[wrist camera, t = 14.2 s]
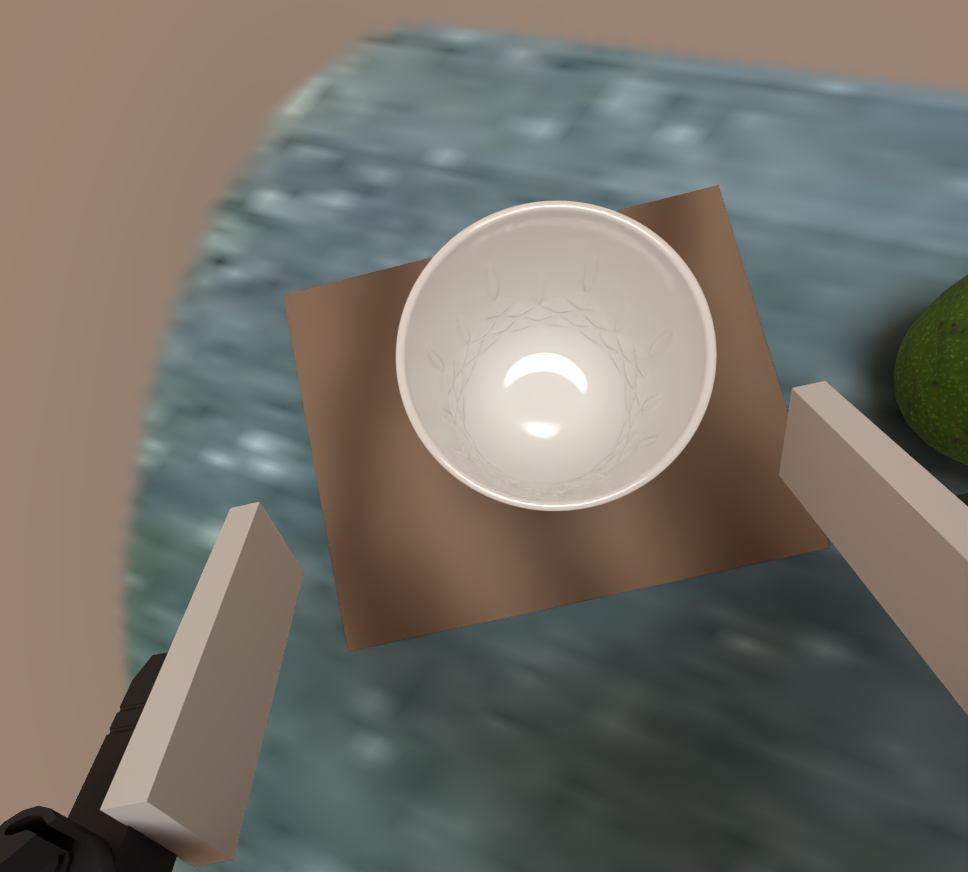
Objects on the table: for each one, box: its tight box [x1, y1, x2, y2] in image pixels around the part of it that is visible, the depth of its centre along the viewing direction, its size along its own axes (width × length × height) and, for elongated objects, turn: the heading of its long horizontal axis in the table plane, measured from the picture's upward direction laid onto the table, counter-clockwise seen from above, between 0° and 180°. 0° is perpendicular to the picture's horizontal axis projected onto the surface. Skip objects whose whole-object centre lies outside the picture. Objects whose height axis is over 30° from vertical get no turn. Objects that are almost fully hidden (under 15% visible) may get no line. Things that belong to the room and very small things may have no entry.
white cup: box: [396, 201, 717, 511], centre depth 18 cm, size 8×8×10 cm
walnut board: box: [284, 185, 830, 652], centre depth 24 cm, size 20×16×1 cm
